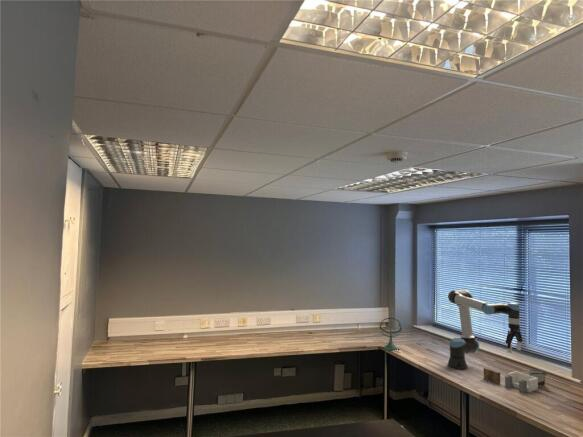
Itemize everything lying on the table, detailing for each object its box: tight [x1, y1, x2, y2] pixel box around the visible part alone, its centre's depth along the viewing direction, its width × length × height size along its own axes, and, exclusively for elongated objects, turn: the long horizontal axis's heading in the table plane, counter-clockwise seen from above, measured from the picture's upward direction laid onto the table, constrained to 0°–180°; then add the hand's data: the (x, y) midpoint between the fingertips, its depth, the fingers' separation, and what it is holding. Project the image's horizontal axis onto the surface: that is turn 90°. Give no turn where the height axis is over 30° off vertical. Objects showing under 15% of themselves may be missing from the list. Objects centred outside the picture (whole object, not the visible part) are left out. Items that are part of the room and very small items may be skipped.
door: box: [483, 367, 501, 385], centre depth 286 cm, size 12×2×8 cm, turn 31°
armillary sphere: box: [379, 312, 403, 352], centre depth 367 cm, size 22×26×35 cm
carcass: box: [504, 370, 539, 393], centre depth 273 cm, size 16×17×8 cm
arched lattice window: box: [528, 369, 547, 387], centre depth 280 cm, size 12×6×10 cm, turn 92°
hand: (514, 351), depth 284 cm, fingers open, 13 cm apart
